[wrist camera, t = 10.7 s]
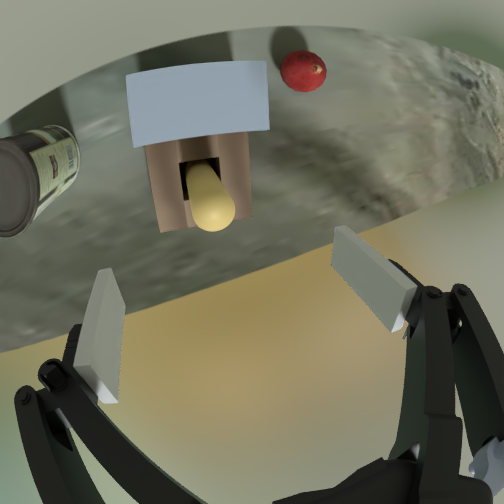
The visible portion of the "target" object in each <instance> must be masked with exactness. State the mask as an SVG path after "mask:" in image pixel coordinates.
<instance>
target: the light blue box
mask: <svg viewBox="0 0 504 504" xmlns="http://www.w3.org/2000/svg"><path fill="white" fill-rule="evenodd" d="M126 85H127V97H128V107H129V116H130V125H131V133H132V140H133V147H134V148H135V147H139V146H144V145H149V144H155V143H160V142H166V141H172V140H178V139H184V138H191V137H198V136H206V135H214V134H223V133H233V132H245V131H258V130H269V106H268V85H267V66H266V61H225V62H209V63H198V64H188V65H180V66H173V67H166V68H160V69H154V70H149V71H143V72H138V73H134V74H129V75H126Z"/></svg>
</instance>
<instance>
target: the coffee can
mask: <svg viewBox="0 0 504 504" xmlns="http://www.w3.org/2000/svg"><path fill="white" fill-rule="evenodd" d="M79 166H80V151H79V147H78V144H77V141H76V140H75V138H74V136H73V135H72V134H71V133H70V132H69V131H68V130H67V129H65V128H63V127H61V126H58V125H48V126H44V127H42V128H37V129H34V130H30V131H26V132H23V133H19V134H15V135H12V136H9V137H5V138H0V238H1V239H11V238H15V237H17V236H19V235H20V234H22V233H23V232H24V231H25V230H26V229H27V228H28V227H29V225H30V224H31V223H32V221H33V220H34V219H35V218H36V217H37V216H38V215H39V214H40V213H41V212H42V211H43V210H44V209H45V208H46V207H47V206H48V205H49V204H50V203H51V202H52V201H53V200H54V199H55V198H56V197H57V196H59V195H60V194H61V193H62V192H63V191H65V190H66V189H67V188H68V187H70V185H71V184H72V183H73V181H74V180H75V178H76V176H77V173H78V170H79Z"/></svg>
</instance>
